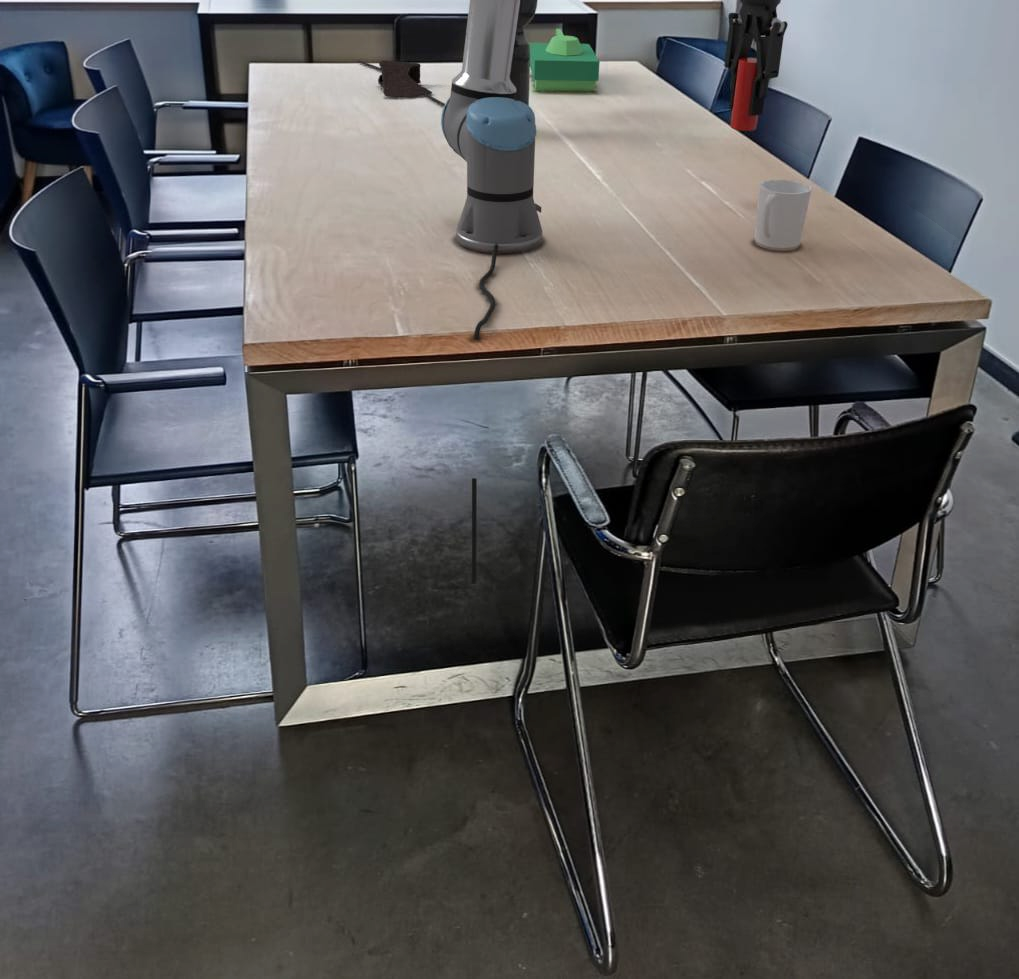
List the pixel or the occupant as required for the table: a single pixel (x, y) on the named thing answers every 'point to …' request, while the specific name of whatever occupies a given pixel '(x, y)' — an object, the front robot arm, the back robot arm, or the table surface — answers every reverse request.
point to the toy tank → (563, 65)
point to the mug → (781, 214)
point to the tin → (744, 96)
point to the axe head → (401, 79)
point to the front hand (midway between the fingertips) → (745, 111)
